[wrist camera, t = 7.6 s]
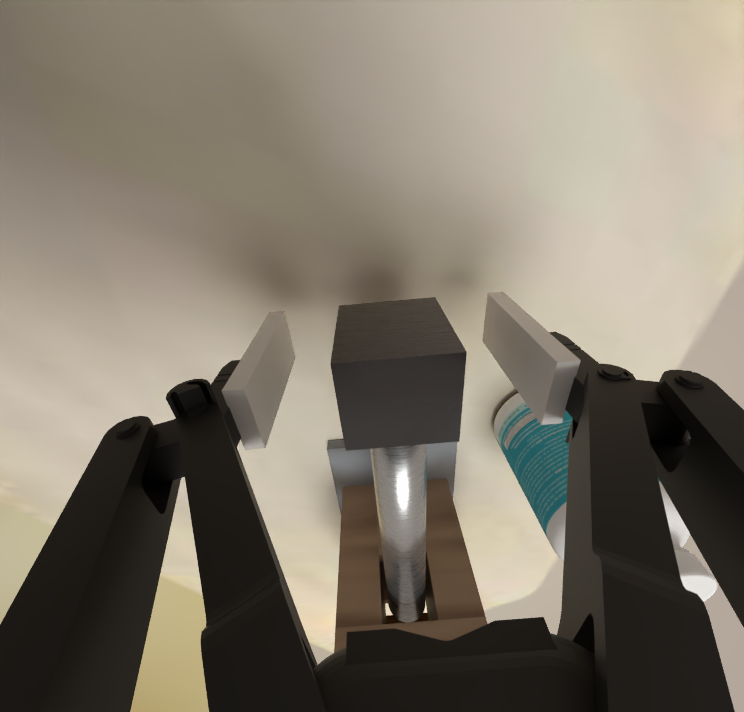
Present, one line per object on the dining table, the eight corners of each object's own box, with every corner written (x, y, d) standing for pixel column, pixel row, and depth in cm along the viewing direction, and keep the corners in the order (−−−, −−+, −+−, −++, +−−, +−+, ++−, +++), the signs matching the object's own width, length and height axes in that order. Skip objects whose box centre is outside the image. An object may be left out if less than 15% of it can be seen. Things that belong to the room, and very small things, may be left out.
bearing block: (328, 440, 28) (307, 624, 17) (454, 430, 28) (518, 608, 17) (355, 570, 39) (353, 731, 28) (445, 563, 39) (479, 722, 28)
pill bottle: (484, 448, 29) (568, 636, 17) (498, 381, 25) (615, 565, 14) (566, 444, 29) (703, 628, 18) (592, 377, 25) (788, 555, 14)
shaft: (339, 305, 15) (330, 364, 10) (435, 297, 15) (466, 351, 10) (376, 566, 26) (379, 644, 22) (429, 562, 26) (443, 639, 22)
